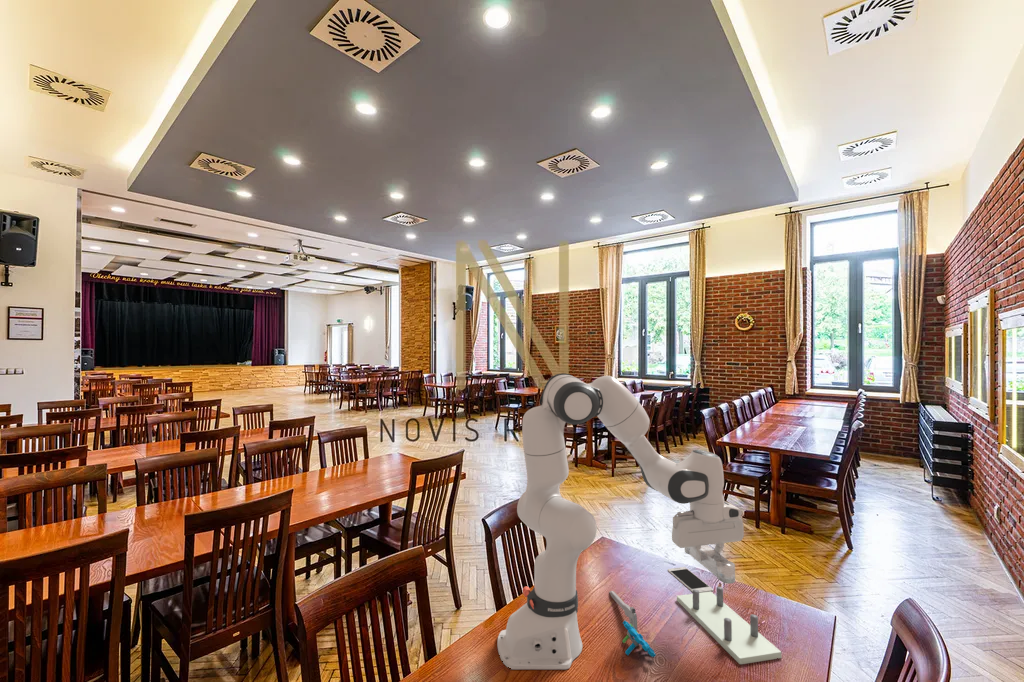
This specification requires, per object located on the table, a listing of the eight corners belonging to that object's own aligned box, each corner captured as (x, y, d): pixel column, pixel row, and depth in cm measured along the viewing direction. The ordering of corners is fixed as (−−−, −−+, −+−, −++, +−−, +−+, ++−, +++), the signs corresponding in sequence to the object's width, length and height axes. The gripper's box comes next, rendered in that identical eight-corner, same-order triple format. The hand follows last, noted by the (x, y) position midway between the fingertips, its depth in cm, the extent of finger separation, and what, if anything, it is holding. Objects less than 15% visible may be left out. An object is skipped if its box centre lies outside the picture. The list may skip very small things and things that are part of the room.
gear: (663, 660, 107) (633, 630, 108) (647, 680, 106) (617, 649, 107) (647, 637, 118) (620, 610, 119) (633, 655, 117) (606, 627, 118)
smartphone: (694, 595, 139) (694, 592, 139) (667, 571, 154) (667, 568, 154) (714, 592, 141) (714, 589, 141) (685, 569, 156) (684, 566, 156)
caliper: (637, 634, 120) (637, 611, 120) (633, 634, 120) (633, 611, 120) (612, 593, 140) (612, 573, 140) (608, 593, 140) (608, 573, 140)
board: (739, 664, 108) (739, 638, 108) (676, 600, 135) (676, 579, 136) (781, 657, 110) (781, 632, 110) (711, 596, 138) (710, 575, 138)
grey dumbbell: (724, 584, 111) (723, 568, 111) (681, 549, 130) (681, 536, 130) (738, 582, 112) (738, 566, 112) (694, 547, 131) (694, 534, 131)
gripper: (679, 517, 116) (680, 569, 116) (747, 510, 120) (748, 560, 119) (666, 508, 122) (667, 557, 122) (731, 501, 126) (732, 549, 126)
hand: (708, 558), depth 121 cm, fingers closed on grey dumbbell, 3 cm apart
